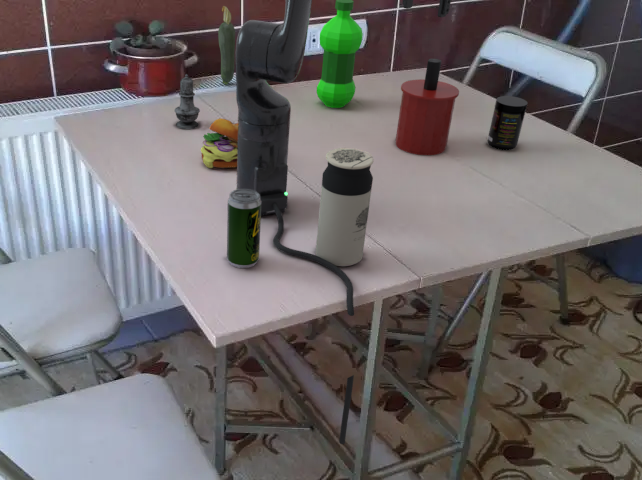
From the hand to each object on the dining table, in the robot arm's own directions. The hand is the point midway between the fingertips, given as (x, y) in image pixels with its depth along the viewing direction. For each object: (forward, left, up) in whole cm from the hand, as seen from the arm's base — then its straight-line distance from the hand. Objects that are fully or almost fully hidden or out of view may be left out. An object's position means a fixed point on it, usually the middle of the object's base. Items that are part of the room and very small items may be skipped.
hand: (424, 12), depth 153 cm
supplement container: (-8, -21, -29) cm, 36 cm away
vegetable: (+50, +24, -29) cm, 62 cm away
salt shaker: (+26, +43, -29) cm, 58 cm away
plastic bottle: (+28, +3, -29) cm, 40 cm away
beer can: (-35, +54, -29) cm, 71 cm away
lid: (-2, -3, -16) cm, 16 cm away
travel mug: (-39, +38, -29) cm, 62 cm away
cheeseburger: (+4, +42, -29) cm, 51 cm away
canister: (-2, -3, -29) cm, 29 cm away
